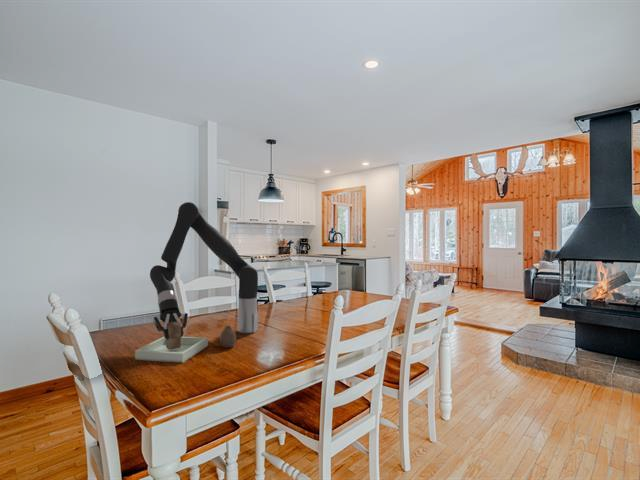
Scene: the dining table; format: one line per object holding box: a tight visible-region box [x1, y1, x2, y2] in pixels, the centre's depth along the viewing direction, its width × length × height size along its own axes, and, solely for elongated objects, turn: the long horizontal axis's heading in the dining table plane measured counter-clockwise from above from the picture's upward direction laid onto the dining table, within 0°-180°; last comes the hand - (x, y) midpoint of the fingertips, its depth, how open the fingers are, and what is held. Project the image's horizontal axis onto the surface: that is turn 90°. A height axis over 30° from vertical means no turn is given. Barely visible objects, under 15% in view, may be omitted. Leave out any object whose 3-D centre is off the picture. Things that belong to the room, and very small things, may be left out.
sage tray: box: [134, 336, 209, 364], centre depth 138 cm, size 20×20×4 cm
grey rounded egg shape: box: [219, 325, 237, 349], centre depth 146 cm, size 7×7×9 cm
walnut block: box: [166, 322, 182, 350], centre depth 138 cm, size 5×5×10 cm
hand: (174, 337), depth 136 cm, fingers closed on walnut block, 4 cm apart
